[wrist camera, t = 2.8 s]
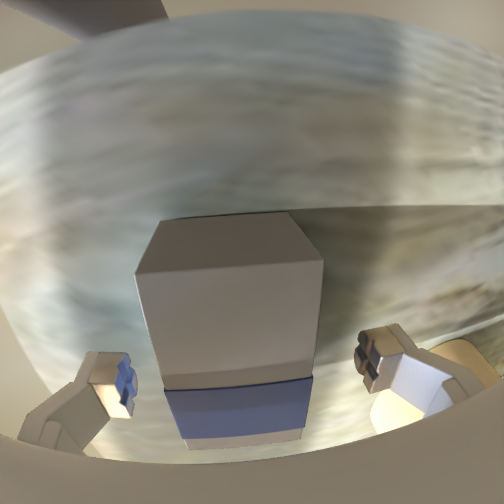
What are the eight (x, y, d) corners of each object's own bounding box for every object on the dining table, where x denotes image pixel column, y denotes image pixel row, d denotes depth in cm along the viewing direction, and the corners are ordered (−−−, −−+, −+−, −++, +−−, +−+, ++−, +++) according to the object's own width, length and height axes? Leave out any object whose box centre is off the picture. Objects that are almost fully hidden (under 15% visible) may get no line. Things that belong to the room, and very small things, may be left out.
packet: (158, 220, 10) (130, 275, 7) (288, 211, 11) (328, 260, 7) (188, 380, 13) (187, 451, 10) (283, 372, 14) (302, 440, 10)
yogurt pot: (387, 354, 15) (461, 476, 7) (492, 321, 16) (562, 394, 8) (353, 442, 19) (388, 530, 11) (447, 407, 19) (490, 474, 12)
